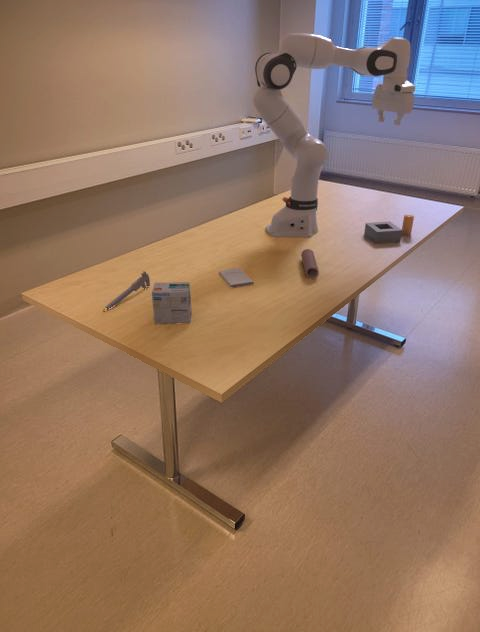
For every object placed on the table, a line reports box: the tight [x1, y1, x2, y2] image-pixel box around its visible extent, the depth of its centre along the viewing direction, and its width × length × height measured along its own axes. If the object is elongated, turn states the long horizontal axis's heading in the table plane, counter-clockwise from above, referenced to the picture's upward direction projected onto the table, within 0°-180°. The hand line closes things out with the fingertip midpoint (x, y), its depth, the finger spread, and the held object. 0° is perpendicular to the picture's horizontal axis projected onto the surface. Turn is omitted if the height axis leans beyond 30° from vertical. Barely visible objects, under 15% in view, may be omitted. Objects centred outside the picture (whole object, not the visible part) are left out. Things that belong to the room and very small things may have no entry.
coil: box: [300, 248, 320, 280], centre depth 182 cm, size 5×5×18 cm
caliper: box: [105, 271, 151, 309], centre depth 160 cm, size 21×1×6 cm, turn 148°
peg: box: [401, 214, 415, 237], centre depth 212 cm, size 4×4×8 cm
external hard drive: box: [218, 267, 254, 288], centre depth 175 cm, size 2×8×12 cm
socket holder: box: [364, 221, 403, 245], centre depth 209 cm, size 11×11×5 cm
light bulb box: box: [151, 281, 192, 324], centre depth 147 cm, size 11×7×11 cm, turn 92°
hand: (388, 123), depth 201 cm, fingers open, 8 cm apart
